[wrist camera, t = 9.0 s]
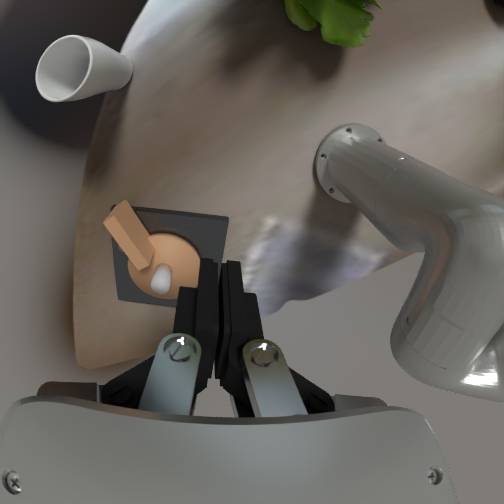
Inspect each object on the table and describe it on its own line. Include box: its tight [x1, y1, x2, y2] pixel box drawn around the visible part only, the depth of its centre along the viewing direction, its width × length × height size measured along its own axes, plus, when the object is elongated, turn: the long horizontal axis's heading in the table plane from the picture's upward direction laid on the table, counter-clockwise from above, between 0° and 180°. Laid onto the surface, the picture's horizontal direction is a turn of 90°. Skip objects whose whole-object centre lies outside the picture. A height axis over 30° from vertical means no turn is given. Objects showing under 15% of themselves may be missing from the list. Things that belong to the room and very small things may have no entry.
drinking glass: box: [36, 35, 133, 102], centre depth 22 cm, size 7×7×15 cm
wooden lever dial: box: [103, 200, 200, 299], centre depth 39 cm, size 12×18×6 cm, turn 24°
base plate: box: [111, 205, 229, 307], centre depth 43 cm, size 18×18×6 cm
